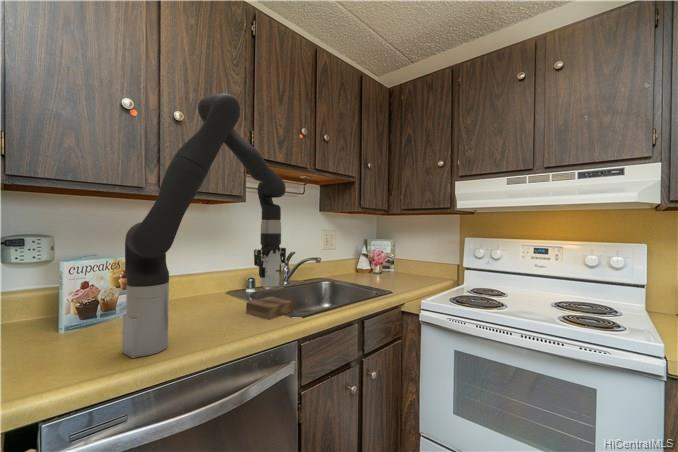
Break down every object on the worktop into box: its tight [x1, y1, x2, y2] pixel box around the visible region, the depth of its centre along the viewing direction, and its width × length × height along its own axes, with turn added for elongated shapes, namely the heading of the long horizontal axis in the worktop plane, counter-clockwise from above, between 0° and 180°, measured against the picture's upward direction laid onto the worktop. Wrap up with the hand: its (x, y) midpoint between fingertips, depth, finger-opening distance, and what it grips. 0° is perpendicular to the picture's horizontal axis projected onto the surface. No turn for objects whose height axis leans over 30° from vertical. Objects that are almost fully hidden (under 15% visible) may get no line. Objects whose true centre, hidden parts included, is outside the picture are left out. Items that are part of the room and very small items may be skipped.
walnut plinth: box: [245, 295, 294, 320], centre depth 109 cm, size 12×12×4 cm
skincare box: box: [260, 253, 281, 288], centre depth 108 cm, size 6×4×12 cm
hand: (270, 276), depth 108 cm, fingers closed on skincare box, 7 cm apart
